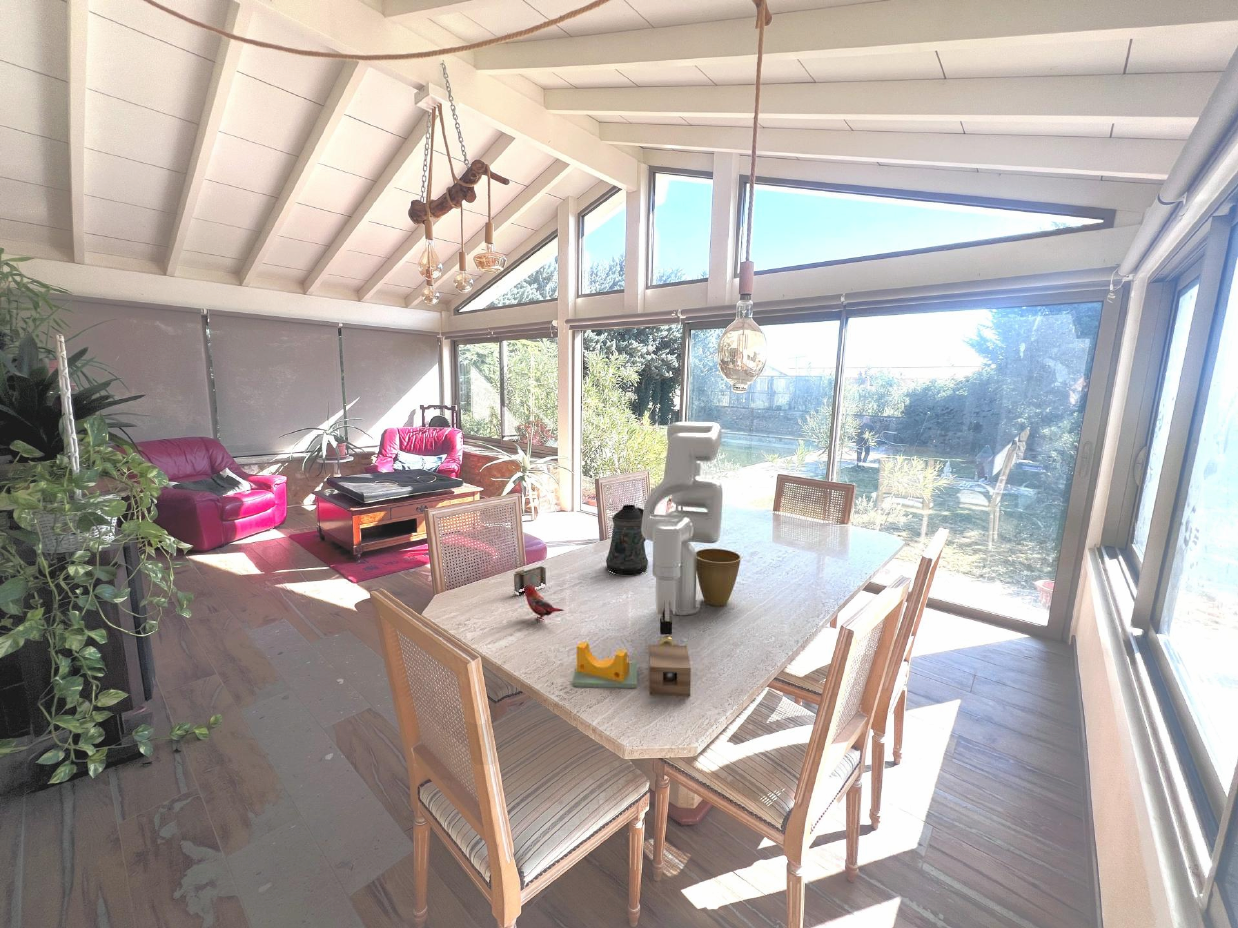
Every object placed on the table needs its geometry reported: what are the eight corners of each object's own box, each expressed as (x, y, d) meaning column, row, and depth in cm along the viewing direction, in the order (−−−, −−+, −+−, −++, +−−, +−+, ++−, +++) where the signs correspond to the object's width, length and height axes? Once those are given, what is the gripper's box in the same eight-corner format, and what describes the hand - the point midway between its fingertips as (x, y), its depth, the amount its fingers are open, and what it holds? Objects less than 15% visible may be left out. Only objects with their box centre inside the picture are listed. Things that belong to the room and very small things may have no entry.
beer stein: (600, 573, 187) (599, 509, 184) (615, 557, 205) (615, 499, 202) (642, 578, 182) (642, 512, 179) (654, 561, 201) (654, 501, 197)
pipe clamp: (629, 672, 119) (629, 647, 118) (622, 681, 115) (622, 656, 114) (584, 662, 123) (584, 638, 122) (576, 671, 119) (576, 646, 118)
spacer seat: (577, 665, 124) (577, 661, 123) (637, 666, 123) (637, 662, 123) (572, 685, 115) (572, 682, 115) (636, 687, 114) (636, 683, 114)
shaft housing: (649, 670, 121) (649, 644, 120) (686, 671, 121) (686, 645, 120) (649, 694, 111) (649, 666, 110) (690, 695, 111) (690, 667, 110)
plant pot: (740, 613, 153) (742, 564, 151) (692, 609, 156) (693, 560, 154) (738, 594, 167) (740, 549, 165) (694, 590, 170) (695, 546, 168)
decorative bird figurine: (528, 611, 154) (527, 581, 153) (567, 628, 143) (567, 595, 142) (520, 614, 152) (519, 584, 151) (560, 632, 141) (560, 599, 139)
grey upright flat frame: (519, 598, 166) (518, 570, 164) (514, 595, 168) (513, 568, 166) (546, 588, 174) (546, 562, 172) (541, 586, 176) (541, 560, 174)
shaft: (658, 650, 127) (659, 635, 126) (674, 650, 127) (674, 635, 126) (660, 684, 112) (661, 668, 111) (678, 684, 112) (678, 668, 111)
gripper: (651, 559, 138) (651, 620, 141) (653, 579, 123) (652, 647, 126) (678, 559, 138) (677, 620, 141) (683, 580, 123) (682, 647, 126)
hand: (666, 633), depth 134 cm, fingers closed
